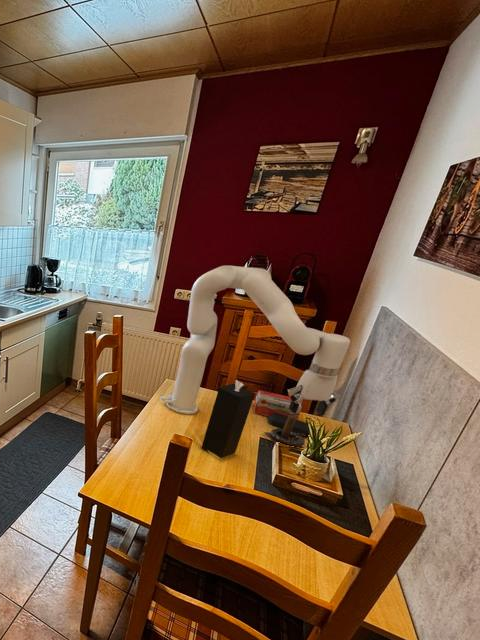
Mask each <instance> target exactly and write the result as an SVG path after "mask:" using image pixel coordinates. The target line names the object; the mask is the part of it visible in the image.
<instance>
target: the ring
mask: <svg viewBox="0 0 480 640" xmlns="http://www.w3.org/2000/svg"><path fill="white" fill-rule="evenodd" d="M282 431H283V429H281V428H278V427H275V428H274V429H271V431H270V433H271V436H272V437H273V438H274V439H275V440H276V441H278V442H280V443H282V444H285V445H289V446H294V447H300V446H303V447H304V445H306V442H305V438H303V436H300V435H299V434H297V433H295V432H293V431H291V433H290V436H291V437H293V438H294V439H295V440H296V441H290V440H286V439H284V438H282V437H280V436H279V435H278V434H282Z"/></svg>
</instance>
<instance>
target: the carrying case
mask: <svg viewBox="0 0 480 640" xmlns="http://www.w3.org/2000/svg"><path fill="white" fill-rule="evenodd" d="M287 418H288V417H286V416H283V415H280V414H276V413H273V414H270V415H269V417H268V419H267V424H268V425H270V426H272V427H275V428H279V429H284V426H285V424H286V421H287ZM308 423H309V422H306V421H302V420H300V419H297V420H296V421H295V423H294V426H293V428H292V431H293V432H295V433H297V434H299V435H300V436H301V437H304V438H309V437H308V435H309V427H308Z"/></svg>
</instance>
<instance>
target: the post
mask: <svg viewBox="0 0 480 640" xmlns="http://www.w3.org/2000/svg"><path fill="white" fill-rule="evenodd" d="M296 418H297V417H296V416H293V415H289V416H288V418H287V421H286V424H285V426H284V429H283V431H282V434H278V435H279V436H280V437H282V438H284V439H286V440H290V441H297V440H296V439H295V438H293V437H291V436H290V433H291V431H292V428H293V426H294V423H295V421H296ZM263 434H264V435H265V436H266V437H267V438H268V439H269V440H270V441H271V442H272V443H273V444H275V443H276V442H278V441H276V440H275V439H274V438H273V437H272V436H271V431H268V432H267V431H265V432H264V433H263ZM299 448H303V449H304V448H305V447H304V445H303V446H300V447H299ZM299 448H298V449H299Z"/></svg>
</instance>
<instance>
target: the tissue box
mask: <svg viewBox="0 0 480 640" xmlns="http://www.w3.org/2000/svg"><path fill="white" fill-rule="evenodd" d="M244 386H245V384H244V383H243V382H241V381H239V380H238V379H235V383H230V384H227V385H223V386H219V387H218V389H217V394H216V397H215V400H214V403H213V406H212V409H211V414H210V417H209V420H208V424H207V426H206V430H205V433H204V437H203V440H202V443H201V449H202V450H203V451H205V452H207V453H208V454H209V453H212V454H214V455H215V456H217V457H218V458H220V459H224V458H227V457H228V456H231V455H234V454H236V453H237V449H238V445H239V444H240V443H239V442H240V440H241V437H242V434H243V431H244V428H245V425H246V422H247V419H248V417H249V414H250V411H251V408H252V404H253V402H254V400H255V398H256V397H255V396H256V392H254V391H251V390H249V389H246V388H245V387H244Z"/></svg>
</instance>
